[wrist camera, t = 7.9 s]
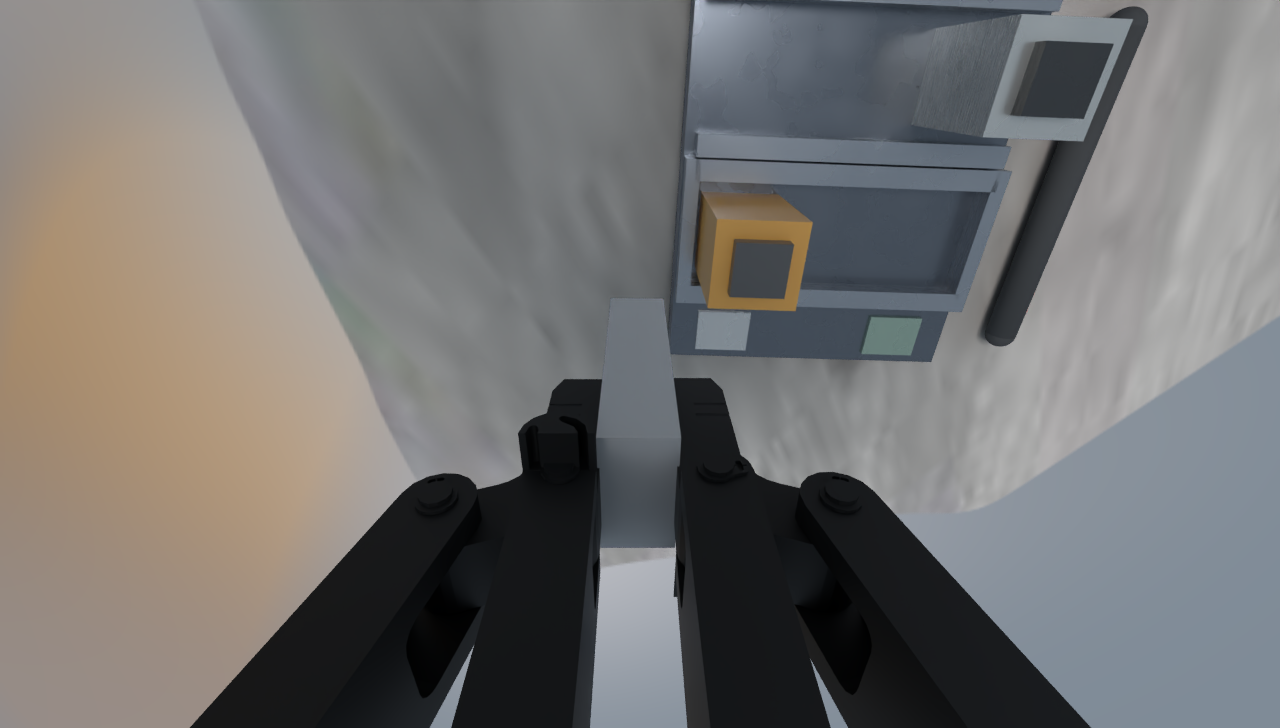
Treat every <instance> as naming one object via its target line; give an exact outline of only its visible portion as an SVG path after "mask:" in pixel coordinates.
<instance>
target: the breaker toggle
mask: <svg viewBox="0 0 1280 728" xmlns="http://www.w3.org/2000/svg"><path fill="white" fill-rule="evenodd" d="M812 224H813V222H812V221H810V220H809V219H808V218H807V217H805V216H804V215H803V214H802V213H801V212H799V211H798V210H797V209H796V208H794V207H793V206H792V205H791V204H789V203H788V202H787V201H786V200H785V199H783V198H782V197H781V196H780V195H778V194H754V193H727V192H701V200H700V211H699V223H698V234H697V245H696V256H695V270H696V273H697V276H698V279H699V282H700V285H701V288H702V292H703V295H704V298H705V301H706V304H707V307H708V308H713V309H744V310H776V311H796V306H797V301H798V296H799V291H800V286H801V280H802V275H803V270H804V265H805V260H806V255H807V250H808V244H809V239H810V234H811V229H812Z"/></svg>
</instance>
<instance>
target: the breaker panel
mask: <svg viewBox="0 0 1280 728" xmlns="http://www.w3.org/2000/svg"><path fill="white" fill-rule="evenodd" d="M1062 1H1063V0H691V12H690V26H689V40H688V54H687V69H686V83H685V97H684V112H683V126H682V140H681V155H680V169H679V183H678V197H677V212H676V226H675V240H674V255H673V269H672V283H671V297H670V312H669V326H668V338H669V346H670V354H682V355H715V356H749V357H783V358H816V359H850V360H884V361H918V362H931V361H932V358H933V355H934V352H935V349H936V346H937V343H938V341H939V338H940V335H941V332H942V329H943V326H944V323H945V320H946V317H947V314H948V312H962V310H963V307H964V304H965V301H966V299H967V296H968V293H969V290H970V287H971V285H972V282H973V279H974V276H975V274H976V271H977V268H978V265H979V262H980V260H981V257H982V254H983V251H984V248H985V246H986V243H987V240H988V237H989V234H990V232H991V229H992V226H993V223H994V221H995V218H996V215H997V212H998V209H999V207H1000V204H1001V201H1002V198H1003V195H1004V193H1005V190H1006V187H1007V184H1008V181H1009V179H1010V176H1011V173H1012V171H1008V170H1004V167H1005V164H1006V161H1007V158H1008V155H1009V153H1010V150H1011V147H1009V146H1006V144H1007V141H1008V138H1013V139H1038V140H1062V141H1084V138H1085V136H1086V133H1087V131H1088V128H1089V126H1090V124H1091V121H1092V119H1093V116H1094V114H1095V111H1096V109H1097V107H1098V104H1099V102H1100V99H1101V97H1102V94H1103V92H1104V89H1105V87H1106V85H1107V82H1108V80H1109V77H1110V75H1111V72H1112V70H1113V67H1114V65H1115V63H1116V60H1117V58H1118V55H1119V53H1120V50H1121V48H1122V45H1123V43H1124V41H1125V38H1126V36H1127V33H1128V31H1129V28H1130V26H1131V23H1132V21H1133V19H1119V18H1097V17H1076V16H1055V15H1051V13H1052V12H1058V11H1059V10H1060V7H1061V4H1062ZM701 192H727V193H754V194H778V195H780V196H781V197H782V198H783V199H785V200H786V201H787V202H788V203H789V204H791V205H792V206H793V207H794V208H796V209H797V210H798V211H799V212H801V213H802V214H803V215H804V216H805V217H807V218H808V219H809V220H810V221H812V222H813V224H812V229H811V234H810V239H809V244H808V250H807V255H806V260H805V265H804V270H803V275H802V280H801V286H800V291H799V296H798V301H797V306H796V311H776V310H744V309H713V308H708V307H707V304H706V301H705V298H704V295H703V292H702V288H701V285H700V282H699V279H698V276H697V273H696V270H695V256H696V245H697V234H698V223H699V211H700V200H701Z"/></svg>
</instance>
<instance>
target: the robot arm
mask: <svg viewBox="0 0 1280 728" xmlns="http://www.w3.org/2000/svg"><path fill="white" fill-rule="evenodd" d="M518 436H519V444H520V452H521V460H522V468H523V472H522V474H521V475H520V476H519V477H517V478H515V479H513V480H511V481H508V482H505V483H502V484H499V485H495V486H490V487H486V488H482V489H477V488H476V485H475V484H474V483H473V482H472V481H471V480H470V479H469V478H468V477H465V476H462V475H459V474H445V473H443V474H438V475H434V476H429V477H426V478H424V479H422V480H420V481H418V482H416V483H414V484H412V485H411V486H410V487H409V488H407V489H406V490H405V491H404V492H403V493H402V494H401V495H400V496H399V497H398V498H397V499H396V500H395V501H394V502H393V504H392V505H391V506H390V507H389V508H388V509H387V510H386V511H385V512H384V513H383V514H382V516H381V517H380V518H379V519H378V520H377V521H376V522H375V523H374V525H373V526H372V527H371V528H370V529H369V530H368V531H367V532H366V533H365V534H364V536H363V537H362V538H361V539H360V540H359V541H358V542H357V543H356V545H355V546H354V547H353V548H352V549H351V550H350V551H349V552H348V553H347V554H346V555H345V557H344V558H343V559H342V560H341V561H340V562H339V563H338V564H337V565H336V566H335V568H334V569H333V570H332V571H331V572H330V573H329V574H328V575H327V576H326V578H325V579H324V580H323V581H322V582H321V583H320V584H319V585H318V586H317V588H316V589H315V590H314V591H313V592H312V593H311V594H310V595H309V596H308V597H307V599H306V600H305V601H304V602H303V603H302V604H301V605H300V606H299V607H298V609H297V610H296V611H295V612H294V613H293V614H292V615H291V616H290V617H289V618H288V620H287V621H286V622H285V623H284V624H283V625H282V626H281V627H280V628H279V630H278V631H277V632H276V633H275V634H274V635H273V636H272V637H271V638H270V640H269V641H268V642H267V643H266V644H265V645H264V646H263V647H262V648H261V649H260V651H259V652H258V653H257V654H256V655H255V656H254V657H253V658H252V659H251V661H250V662H249V663H248V664H247V665H246V666H245V667H244V668H243V670H242V671H241V672H240V673H239V674H238V675H237V676H236V677H235V678H234V679H233V680H232V682H231V683H230V684H229V685H228V686H227V687H226V688H225V689H224V690H223V692H222V693H221V694H220V695H219V696H218V697H217V698H216V699H215V700H214V701H213V703H212V704H211V705H210V706H209V707H208V708H207V709H206V710H205V711H204V713H203V714H202V715H201V716H200V717H199V718H198V719H197V720H196V721H195V723H194V724H193V725H192V726H191V727H190V728H430V726H431V724H432V722H433V720H434V718H435V716H436V715H437V713H438V711H439V709H440V707H441V705H442V703H443V702H444V700H445V698H446V696H447V694H448V692H449V690H450V689H451V686H452V685H453V683H454V681H455V679H456V677H457V675H458V674H459V672H460V670H461V668H462V666H463V664H464V662H465V661H466V659H467V657H468V654H469V653H470V651H471V649H472V647H473V646H474V648H473V652H472V655H471V659H470V662H469V666H468V669H467V673H466V677H465V680H464V684H463V687H462V691H461V695H460V698H459V703H458V706H457V709H456V713H455V716H454V720H453V723H452V727H451V728H590V717H591V703H592V688H593V673H594V658H595V657H594V656H595V642H596V628H597V626H596V625H597V613H598V597H599V581H600V548H675V540H676V567H675V582H674V583H675V584H674V597H677V599H678V611H679V625H680V638H681V649H682V650H681V651H682V663H683V676H684V688H685V701H686V715H687V727H688V728H831V727H830V724H829V721H828V717H827V714H826V711H825V707H824V704H823V700H822V697H821V694H820V690H819V687H818V683H817V680H816V677H815V673H814V670H813V667H812V663H811V661H812V662H813V664H814V666H815V668H816V670H817V671H818V673H819V675H820V677H821V679H822V680H823V682H824V684H825V686H826V688H827V690H828V692H829V693H830V695H831V697H832V699H833V700H834V702H835V704H836V706H837V708H838V710H839V712H840V713H841V715H842V717H843V719H844V720H845V722H846V724H847V726H848V728H1091V727H1090V726H1089V725H1088V724H1087V723H1086V722H1085V721H1084V720H1083V719H1082V717H1081V716H1080V715H1079V714H1078V713H1077V712H1076V711H1075V710H1074V709H1073V708H1072V706H1070V704H1069V703H1068V702H1067V701H1066V700H1065V699H1064V698H1063V697H1062V696H1061V695H1060V693H1059V692H1058V691H1057V690H1056V689H1055V688H1054V687H1053V686H1052V685H1051V684H1050V683H1049V682H1048V680H1047V679H1046V678H1045V677H1044V676H1043V675H1042V674H1041V673H1040V672H1039V671H1038V669H1037V668H1036V667H1034V665H1033V664H1032V663H1031V662H1030V661H1029V660H1028V659H1027V658H1026V656H1025V655H1024V654H1023V653H1022V652H1021V651H1020V650H1019V649H1018V648H1017V647H1016V645H1015V644H1014V643H1013V642H1012V641H1011V640H1010V639H1009V638H1008V637H1007V636H1006V635H1005V633H1004V632H1003V631H1002V630H1001V629H1000V628H999V627H998V626H997V625H996V624H995V623H994V622H993V620H992V619H991V618H990V617H989V616H988V615H987V614H986V613H985V612H984V611H983V610H982V609H981V607H980V606H979V605H978V604H977V603H976V602H975V601H974V600H973V599H972V598H971V596H970V595H969V594H968V593H967V592H966V591H965V590H964V589H963V588H962V587H961V586H960V584H959V583H958V582H957V581H956V580H955V579H954V578H953V577H952V576H951V575H950V574H949V573H948V571H947V570H946V569H945V568H944V567H943V566H942V565H941V564H940V563H939V562H938V561H937V559H936V558H935V557H933V555H932V554H931V553H930V552H929V551H928V550H927V549H926V548H925V546H924V545H923V544H922V543H921V542H920V541H919V540H918V539H917V538H916V537H915V535H913V533H912V532H911V531H910V530H909V529H908V528H907V527H906V526H905V525H904V524H903V522H902V521H900V519H899V518H898V517H897V516H896V515H895V514H894V513H893V511H892V510H891V509H890V508H889V507H888V506H887V505H886V504H885V503H884V502H883V501H882V500H881V498H880V497H879V496H878V495H877V494H876V493H875V492H874V491H873V490H872V489H871V488H869V487H868V486H867V485H866V484H864V483H863V482H861V481H859V480H857V479H855V478H853V477H851V476H849V475H844V474H840V473H835V472H819V473H816V474H813V475H811V476H808V477H807V478H806V479H805V480H804V481H803V482H802V483H801V487H800V488H796V487H792V486H788V485H783V484H779V483H776V482H773V481H769V480H767V479H765V478H763V477H761V476H759V475H757V474H756V473H755V471H754V469H753V467H752V466H751V464H750V462H749V461H748V460H746V459H745V458H744V457H742V456H741V455H740V451H739V448H738V444H737V441H736V437H735V433H734V430H733V426H732V423H731V419H730V416H729V412H728V408H727V405H726V401H725V397H724V394H723V390H722V389H721V388H720V387H719V386H718V385H717V384H716V383H715V382H714V381H713V380H712V379H711V378H673V370H672V362H671V354H670V346H669V338H668V331H667V323H666V315H665V307H664V299H663V298H611V302H610V311H609V321H608V330H607V340H606V349H605V358H604V368H603V377H602V379H564V380H563V381H562V382H561V383H560V384H559V385H558V386H557V387H556V388H555V389H554V390H553V392H552V396H551V399H550V403H549V407H548V411H547V414H544V415H541V416H538V417H535V418H533V419H531V420H530V421H529V422H527V423H526V424H524V425H523V427H522V428H521V430H520V431H519V433H518ZM810 659H811V660H810Z"/></svg>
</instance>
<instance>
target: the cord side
mask: <svg viewBox="0 0 1280 728" xmlns="http://www.w3.org/2000/svg"><path fill="white" fill-rule="evenodd" d="M1110 18H1119V19H1133V21H1132V23H1131V26H1130V28H1129V31H1128V33H1127V36H1126V38H1125V41H1124V43H1123V45H1122V48H1121V50H1120V53H1119V55H1118V58H1117V60H1116V63H1115V65H1114V67H1113V70H1112V72H1111V75H1110V77H1109V80H1108V82H1107V85H1106V87H1105V89H1104V92H1103V94H1102V97H1101V99H1100V102H1099V104H1098V107H1097V109H1096V111H1095V114H1094V116H1093V119H1092V121H1091V124H1090V126H1089V128H1088V131H1087V133H1086V136H1085V138H1084V141H1062V140H1059V143H1058V146H1057V148H1056V151H1055V153H1054V156H1053V158H1052V161H1051V164H1050V166H1049V169H1048V171H1047V174H1046V176H1045V179H1044V182H1043V184H1042V187H1041V189H1040V192H1039V194H1038V197H1037V200H1036V202H1035V205H1034V207H1033V210H1032V212H1031V215H1030V218H1029V220H1028V223H1027V225H1026V228H1025V230H1024V233H1023V236H1022V238H1021V241H1020V243H1019V246H1018V248H1017V251H1016V254H1015V256H1014V259H1013V261H1012V264H1011V266H1010V269H1009V272H1008V274H1007V277H1006V279H1005V282H1004V284H1003V287H1002V290H1001V292H1000V295H999V297H998V300H997V302H996V305H995V308H994V310H993V313H992V315H991V318H990V320H989V323H988V326H987V328H986V331H985V337H986V339H987V341H988V342H989V343H991V344H992V345H995V346H1006V345H1008V344H1010V343H1011V342H1013V341H1014V339H1015V337H1016V335H1017V333H1018V330H1019V328H1020V326H1021V323H1022V321H1023V319H1024V316H1025V314H1026V311H1027V309H1028V307H1029V304H1030V302H1031V300H1032V297H1033V295H1034V292H1035V290H1036V288H1037V285H1038V283H1039V281H1040V278H1041V276H1042V273H1043V271H1044V269H1045V266H1046V264H1047V262H1048V259H1049V257H1050V255H1051V252H1052V250H1053V247H1054V245H1055V243H1056V240H1057V238H1058V236H1059V233H1060V231H1061V228H1062V226H1063V224H1064V221H1065V219H1066V217H1067V214H1068V212H1069V210H1070V207H1071V205H1072V202H1073V200H1074V198H1075V195H1076V193H1077V191H1078V188H1079V186H1080V183H1081V181H1082V179H1083V176H1084V174H1085V172H1086V169H1087V167H1088V164H1089V162H1090V160H1091V157H1092V155H1093V153H1094V150H1095V148H1096V146H1097V143H1098V141H1099V138H1100V136H1101V134H1102V131H1103V129H1104V127H1105V124H1106V122H1107V119H1108V117H1109V115H1110V112H1111V110H1112V108H1113V105H1114V103H1115V100H1116V98H1117V96H1118V93H1119V91H1120V89H1121V86H1122V84H1123V82H1124V79H1125V77H1126V74H1127V72H1128V70H1129V67H1130V65H1131V63H1132V60H1133V58H1134V55H1135V53H1136V51H1137V48H1138V46H1139V44H1140V41H1141V39H1142V37H1143V34H1144V32H1145V29H1146V27H1147V24H1148V15H1147V13H1146V11H1145V10H1144V9H1142V8H1140V7H1127V8H1124V9H1121V10H1119V11H1118V12H1116V13H1115V14H1113V15H1112V16H1111V17H1110Z"/></svg>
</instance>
